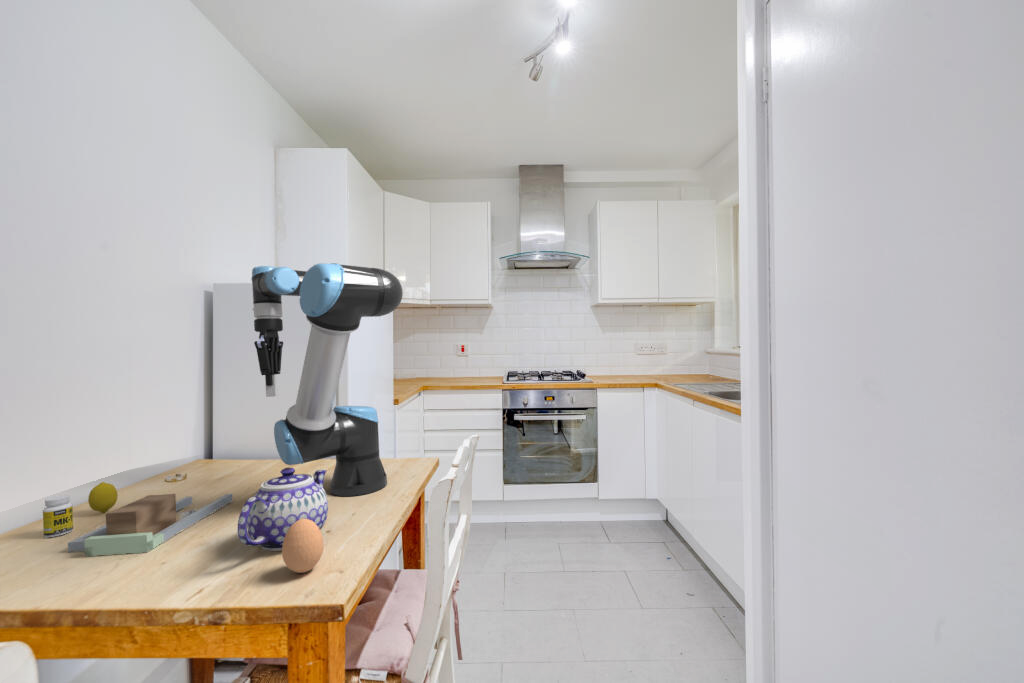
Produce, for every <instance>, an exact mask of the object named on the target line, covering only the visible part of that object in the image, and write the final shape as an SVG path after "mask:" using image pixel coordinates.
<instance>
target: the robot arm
mask: <svg viewBox="0 0 1024 683" xmlns="http://www.w3.org/2000/svg"><path fill="white" fill-rule="evenodd" d="M250 281H251V284H252V285H251V286H252V300H253V302H252V304H253V308H252V311H253V316H254V318H256V319H254V321H253V328H254V331H255V332H256V333H259V336H258V339H259V340H257V341H254V344H253V345H254V346H255V349H256V354H257V358H258V359H257V360H258V365H259V366H258V367H259V370H260V371H259V372H260V375H261V376H264V379H265V397H266V398H269V397H272V398H273V397H278V396H279V394H278V393H279V392H278V375H280V374H281V370H282V355H283V354H282V352H283V346H284V341H282V340H281V341H280V336H279V332H282V331H283V330H284V327H283V319H282V318H283V305H282V304H283V303H282V296H288V297H299V306H300V309H301V311H302V313H304V314H305V318H306V320H307V321H308V323H309V324H310V325H311V327H310V332H309V336H308V337H309V338H308V341H307V345H306V346H307V347H306V352H305V356H304V361H303V365H302V371H301V374H300V375H301V376H300V381H299V385H298V391H297V394H296V395H297V397H296V401H295V404H294V405H291V406H290V407H289V408H288V410H287V412H286V416H285V419H282V418H281V419H279V420H277V421H276V422H275V423H274V426H273V427H274V428H273V436H274V441H275V442H274V444H275V448H276V449H277V452H278V455H279V458H280V460H281V461H282V463H284V464H285V465H288V466H293V465H302V464H305V463H309V462H314V461H319V460H323V459H327V458H331V457H335V465H334V466H335V467H334V469H333V474H332V478H331V481H330V485H329V486H330V493H331V494H332V495H334V496H338V497H353V496H362V495H366V494H371V493H375V492H377V491H379V490H381V489H384V488H385V487H386V486H387V485H388V476H387V473H386V470H385V469H384V466H383V463H382V460H381V457H380V440H379V419H378V418H379V417H378V412H377V409H376V408H375V407H374V406H373V407H372V406H366V405H365V406H364V405H336V406H334V403H335V398H336V395H337V389H338V386H339V382H340V377H341V375H342V374H341V373H342V370H343V365H344V361H345V357H346V353H347V348H348V344H349V341H350V336H351V333H353V332H355V331H357V330H358V329H359V327H360V325H361V324H360V323H361V319H362V318H363V317H364V318H367V317H369V318H370V317H372V318H373V317H375V318H376V317H382V316H386V315H388V314H389V315H390V313H392V312H394V311H395V310H397V308H398V307H399V306H400V304H401V302H402V300H403V296H404V295H403V292H404V291H403V286H402V284H401V281H400V280H399V279H398V278H397V276H395V275H394V274H393V273H391V272H390V271H387V270H385V269H382V268H378V267H366V266H358V265H357V266H356V265H347V264H339V263H334V262H333V263H324V262H323V263H316V264H314V265H312V266H310V267H309V268H308V269H307V271H306V270H296V269H292V268H290V267H288V266H277V267H276V266H271V265H270V266H269V265H268V266H267V265H259V266H255V267H253V268H252V270H251V280H250ZM333 406H334V407H333Z"/></svg>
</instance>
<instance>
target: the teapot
mask: <svg viewBox="0 0 1024 683" xmlns="http://www.w3.org/2000/svg"><path fill="white" fill-rule="evenodd" d="M326 472H327V469H316V471H315V472H314V473H313V475H312V474H307V473H305V474H304V473H297V474H294V473H296V469H295V468H293V467H284V468H283V469H282V470H280V472H279V473H280V474H281V476H277V477H273V478H271V479H269V480H265V481H264V482H262V483H261V484H260V488H259V489H258V491H257V492H256V493H255V494H254V495H253V496H251V497H249V498H248V499H247V500H246V502H245V503H244V504H243V506H242V508H241V510H240V513H239V516H238V521H237V536H238V538H239V540H240V541H241V542H240V543H242V544H243V545H245V546H249V547H257V546H260V547H261V548H262V549H263V550H266V551H273V552H274V551H275V552H277V551H278V552H279V551H281V552H282V546H283V541H284V538H285V535H286V533H287V532H288V530H289V528H290V527H291V526H292V524H294V523H295V522H296V521H298V520H300V519H309V520H311V521H313V522H314V523H315V524H316V525H317V526H318V527H319V529H320V530H322V528H324V525H325V523H326V521H327V519H328V512H329V501H328V496H327V493H326V492H327V491H326V490H325V489H324V478H325V475H326Z"/></svg>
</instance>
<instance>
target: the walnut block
mask: <svg viewBox="0 0 1024 683" xmlns="http://www.w3.org/2000/svg"><path fill="white" fill-rule="evenodd" d="M176 502H177V500H176V493H167V494H149V495H146V496H144V497H142V498H139V499H137V500H135V501H134V500H133V502H130V503H128V504H125V505H123V506H120V507H119V508H116V509H113V510H111V511H108V512H105V525H106V531H107V535H118V534H132V533H146V532H152V535H155V534H156V533H158V532H160V531H162V530H164V529H165V528H167V527H169V526H171V525H172V524H174V523H176V522H178V521H177V520H178V519H177V512H176Z"/></svg>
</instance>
